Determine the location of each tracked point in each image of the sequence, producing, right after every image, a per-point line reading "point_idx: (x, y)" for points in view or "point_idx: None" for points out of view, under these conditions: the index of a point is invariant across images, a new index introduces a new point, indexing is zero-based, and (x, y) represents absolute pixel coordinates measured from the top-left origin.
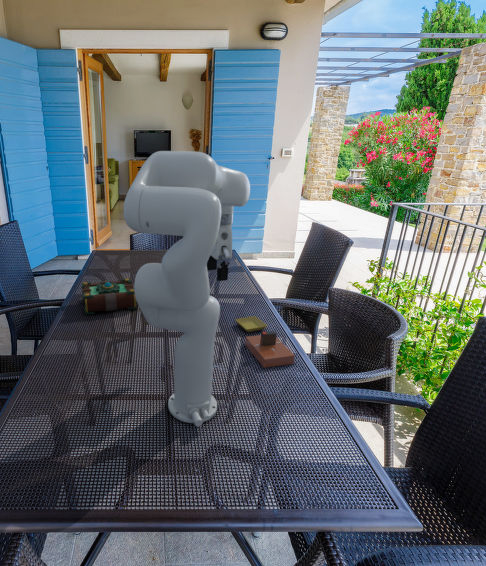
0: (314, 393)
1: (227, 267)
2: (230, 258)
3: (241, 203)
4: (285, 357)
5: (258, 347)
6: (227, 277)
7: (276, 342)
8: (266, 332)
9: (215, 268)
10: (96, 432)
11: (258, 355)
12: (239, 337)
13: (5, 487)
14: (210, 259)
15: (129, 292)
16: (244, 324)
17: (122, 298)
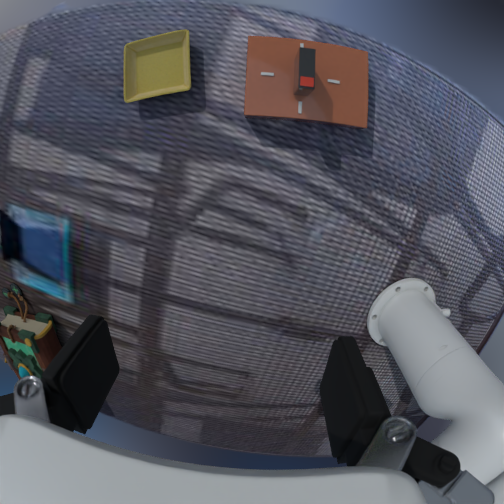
0: (446, 98)
1: (405, 427)
2: (407, 477)
3: None
4: (367, 74)
5: (310, 109)
6: (357, 348)
7: None
8: (302, 72)
9: (103, 329)
10: None
11: (331, 123)
12: (203, 116)
13: None
14: (85, 415)
15: (35, 349)
16: (145, 81)
17: (50, 357)
